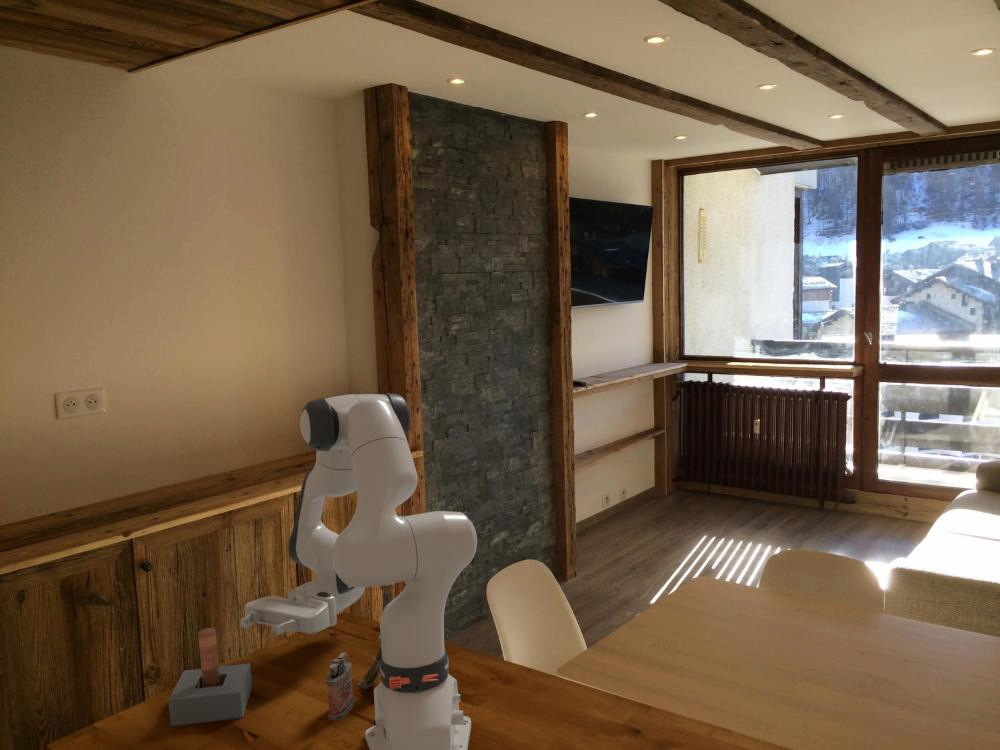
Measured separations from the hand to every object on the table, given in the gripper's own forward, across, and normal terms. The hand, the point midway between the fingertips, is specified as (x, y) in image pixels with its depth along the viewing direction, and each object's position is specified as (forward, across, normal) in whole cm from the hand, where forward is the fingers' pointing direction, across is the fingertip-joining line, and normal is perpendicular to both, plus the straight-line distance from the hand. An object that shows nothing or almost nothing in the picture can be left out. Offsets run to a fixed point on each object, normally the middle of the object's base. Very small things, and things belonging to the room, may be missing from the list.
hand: (258, 627), depth 174 cm
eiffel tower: (-10, +26, +12) cm, 31 cm away
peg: (+12, 0, +10) cm, 16 cm away
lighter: (+3, +24, +12) cm, 27 cm away
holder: (+12, 0, +11) cm, 17 cm away
